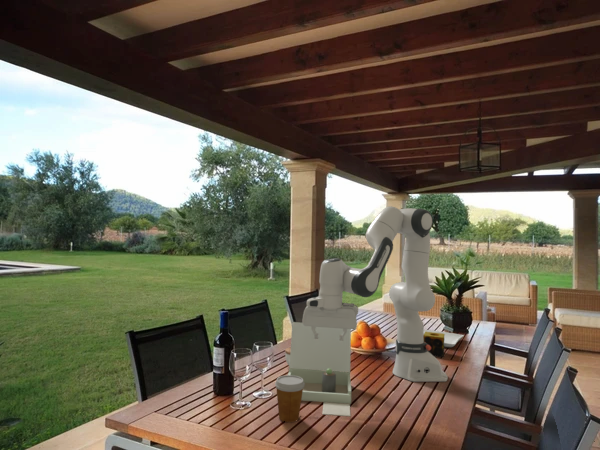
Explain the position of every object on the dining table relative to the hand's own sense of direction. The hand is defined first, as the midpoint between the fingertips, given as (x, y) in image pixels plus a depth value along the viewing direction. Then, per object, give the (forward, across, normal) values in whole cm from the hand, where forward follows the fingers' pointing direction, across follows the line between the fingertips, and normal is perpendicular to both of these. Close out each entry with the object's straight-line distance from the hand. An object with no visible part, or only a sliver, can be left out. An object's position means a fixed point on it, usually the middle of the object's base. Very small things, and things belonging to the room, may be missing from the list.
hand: (328, 339), depth 147 cm
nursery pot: (+20, -1, 0) cm, 20 cm away
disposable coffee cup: (+20, +11, +22) cm, 32 cm away
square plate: (+20, -58, -92) cm, 110 cm away
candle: (+19, -52, -64) cm, 85 cm away
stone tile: (+20, -4, +14) cm, 25 cm away
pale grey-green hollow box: (+20, +3, -4) cm, 21 cm away
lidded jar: (+20, +15, -28) cm, 38 cm away
